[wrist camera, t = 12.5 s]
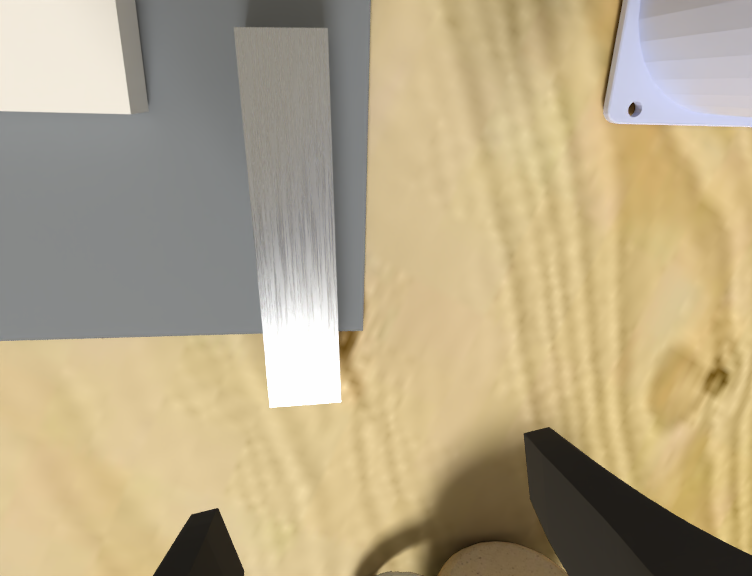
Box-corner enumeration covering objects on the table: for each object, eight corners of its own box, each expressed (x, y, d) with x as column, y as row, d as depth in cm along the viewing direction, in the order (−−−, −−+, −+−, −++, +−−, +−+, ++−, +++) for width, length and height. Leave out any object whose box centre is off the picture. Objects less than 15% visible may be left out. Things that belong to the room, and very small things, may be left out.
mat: (373, -176, 15) (374, -183, 14) (362, 326, 21) (362, 330, 20) (-268, -240, 13) (-285, -250, 12) (-79, 338, 19) (-87, 343, 18)
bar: (244, 35, 16) (324, 36, 16) (274, 370, 20) (337, 366, 21) (233, 26, 14) (327, 28, 14) (270, 407, 18) (340, 401, 18)
